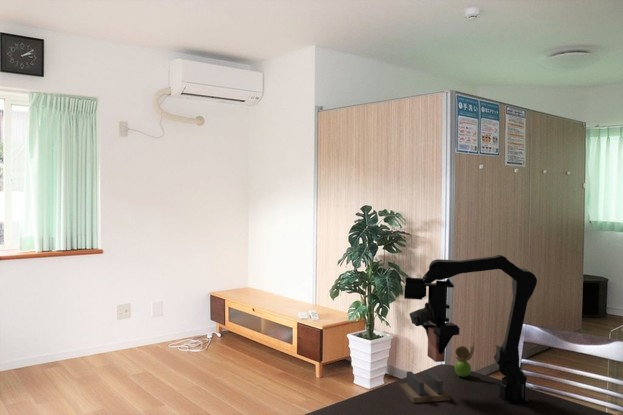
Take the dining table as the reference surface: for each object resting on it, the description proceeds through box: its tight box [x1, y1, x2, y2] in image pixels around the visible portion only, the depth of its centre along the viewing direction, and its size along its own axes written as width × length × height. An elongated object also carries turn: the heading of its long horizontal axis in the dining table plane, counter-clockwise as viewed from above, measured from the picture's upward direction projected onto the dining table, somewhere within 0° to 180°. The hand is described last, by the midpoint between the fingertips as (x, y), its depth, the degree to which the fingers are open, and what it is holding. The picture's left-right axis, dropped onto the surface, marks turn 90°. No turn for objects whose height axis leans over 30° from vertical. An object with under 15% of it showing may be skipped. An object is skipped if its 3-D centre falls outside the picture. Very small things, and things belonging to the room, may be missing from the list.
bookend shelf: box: [398, 370, 452, 404], centre depth 161 cm, size 12×12×6 cm
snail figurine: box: [454, 341, 476, 378], centre depth 176 cm, size 5×6×12 cm
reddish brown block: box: [427, 327, 446, 363], centre depth 161 cm, size 3×6×9 cm, turn 11°
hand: (436, 350), depth 161 cm, fingers closed on reddish brown block, 6 cm apart
